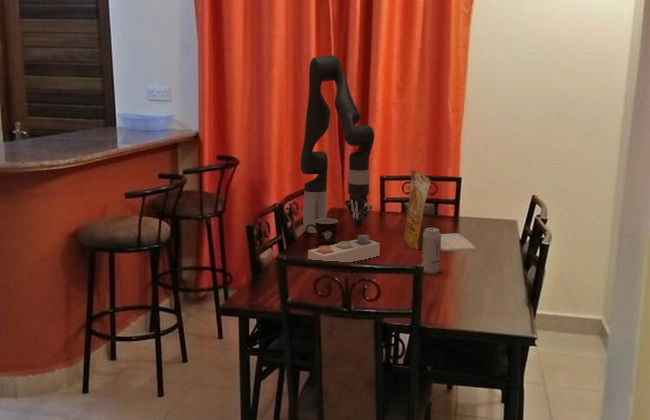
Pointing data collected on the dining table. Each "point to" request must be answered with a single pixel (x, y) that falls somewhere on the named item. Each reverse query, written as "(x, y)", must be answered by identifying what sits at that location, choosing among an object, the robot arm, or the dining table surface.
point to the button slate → (363, 239)
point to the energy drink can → (431, 250)
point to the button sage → (344, 245)
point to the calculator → (455, 243)
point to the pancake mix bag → (416, 209)
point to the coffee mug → (325, 231)
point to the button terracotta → (324, 249)
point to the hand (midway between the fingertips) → (357, 228)
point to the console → (347, 252)
